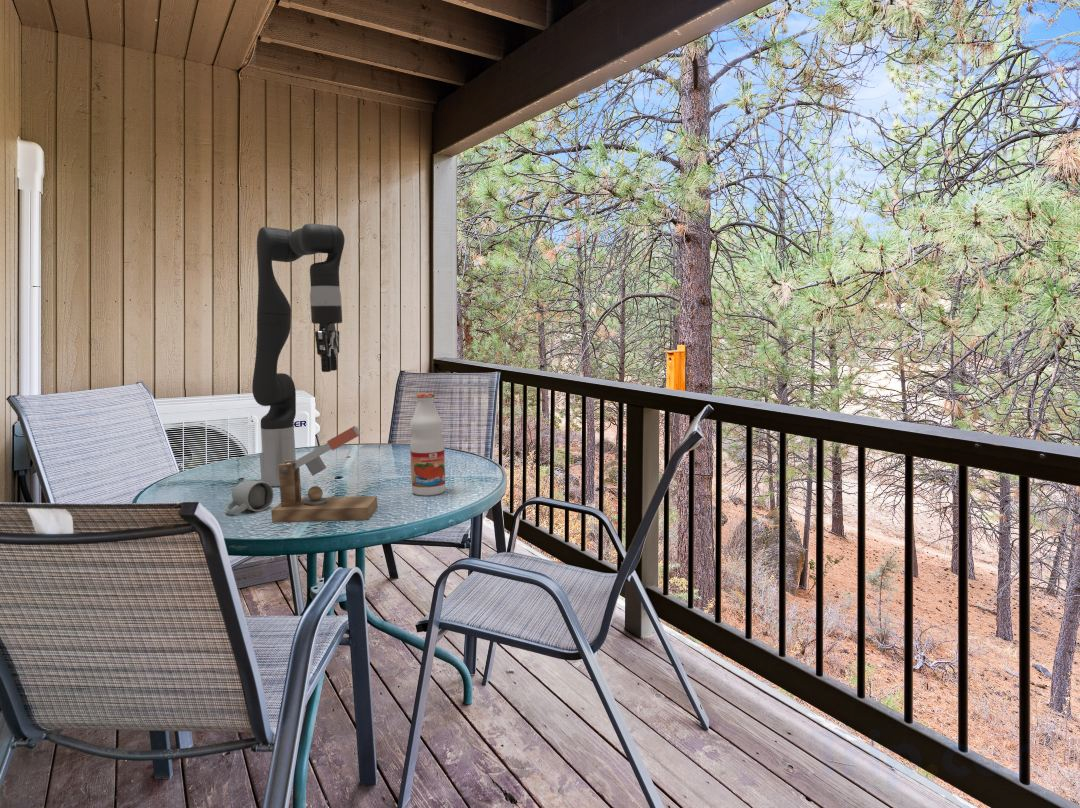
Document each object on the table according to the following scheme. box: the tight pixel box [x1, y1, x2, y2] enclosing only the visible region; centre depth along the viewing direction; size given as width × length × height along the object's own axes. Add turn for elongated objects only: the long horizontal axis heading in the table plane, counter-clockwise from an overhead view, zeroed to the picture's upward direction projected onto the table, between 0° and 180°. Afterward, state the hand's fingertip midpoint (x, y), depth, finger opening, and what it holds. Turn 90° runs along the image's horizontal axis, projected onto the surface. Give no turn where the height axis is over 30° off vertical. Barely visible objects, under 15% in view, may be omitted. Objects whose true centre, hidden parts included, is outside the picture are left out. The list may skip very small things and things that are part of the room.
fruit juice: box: [409, 392, 446, 497], centre depth 186 cm, size 9×9×28 cm
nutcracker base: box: [270, 459, 378, 523], centre depth 165 cm, size 23×11×14 cm, turn 92°
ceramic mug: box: [225, 480, 275, 516], centre depth 171 cm, size 11×8×8 cm
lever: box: [286, 425, 361, 477], centre depth 164 cm, size 21×3×6 cm, turn 92°
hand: (329, 370), depth 171 cm, fingers open, 5 cm apart
